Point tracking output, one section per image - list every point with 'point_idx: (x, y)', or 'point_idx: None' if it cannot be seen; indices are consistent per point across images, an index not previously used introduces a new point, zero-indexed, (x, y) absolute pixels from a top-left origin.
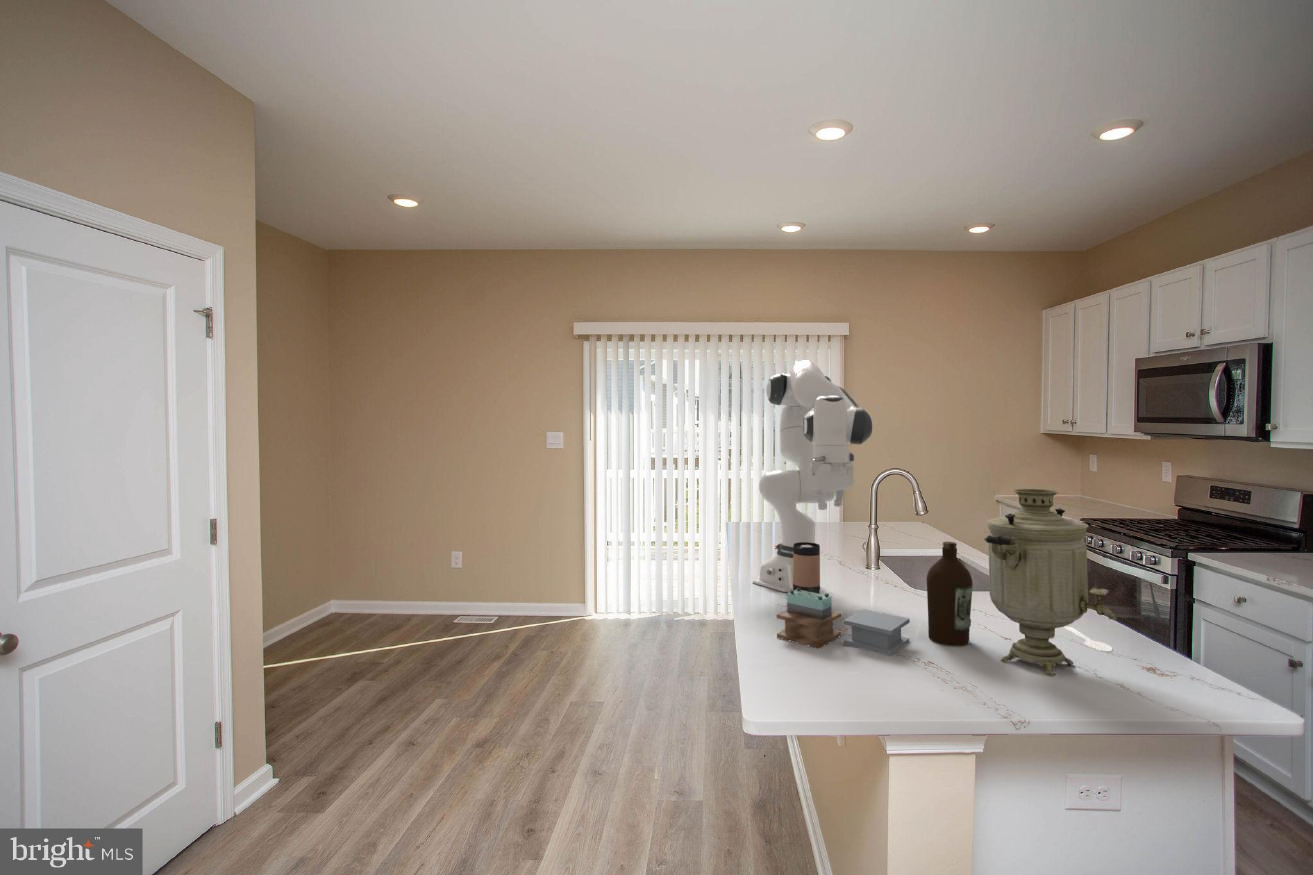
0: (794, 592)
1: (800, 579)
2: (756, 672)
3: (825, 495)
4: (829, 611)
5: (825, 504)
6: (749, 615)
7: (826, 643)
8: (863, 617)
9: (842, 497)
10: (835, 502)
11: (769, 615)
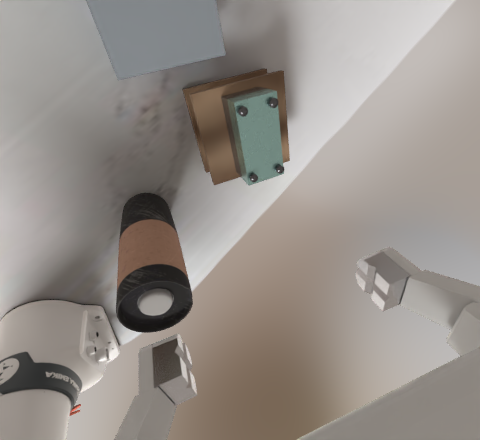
0: (270, 170)
1: (178, 241)
2: (388, 64)
3: (472, 313)
4: (233, 95)
5: (400, 269)
6: (231, 238)
7: (239, 75)
8: (171, 34)
9: (143, 414)
10: (190, 372)
11: (208, 227)
